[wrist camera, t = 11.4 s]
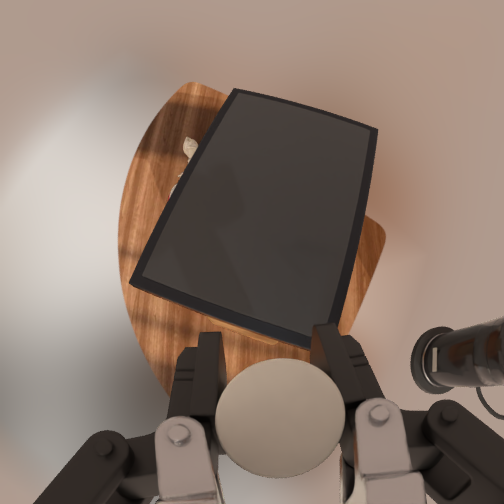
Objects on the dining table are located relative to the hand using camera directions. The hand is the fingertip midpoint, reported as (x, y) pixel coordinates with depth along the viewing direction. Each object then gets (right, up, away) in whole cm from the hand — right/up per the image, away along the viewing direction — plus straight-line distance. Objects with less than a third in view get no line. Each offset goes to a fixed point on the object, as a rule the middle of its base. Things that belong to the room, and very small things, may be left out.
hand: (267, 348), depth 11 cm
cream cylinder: (0, -3, +4) cm, 5 cm away
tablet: (+1, +8, +13) cm, 15 cm away
